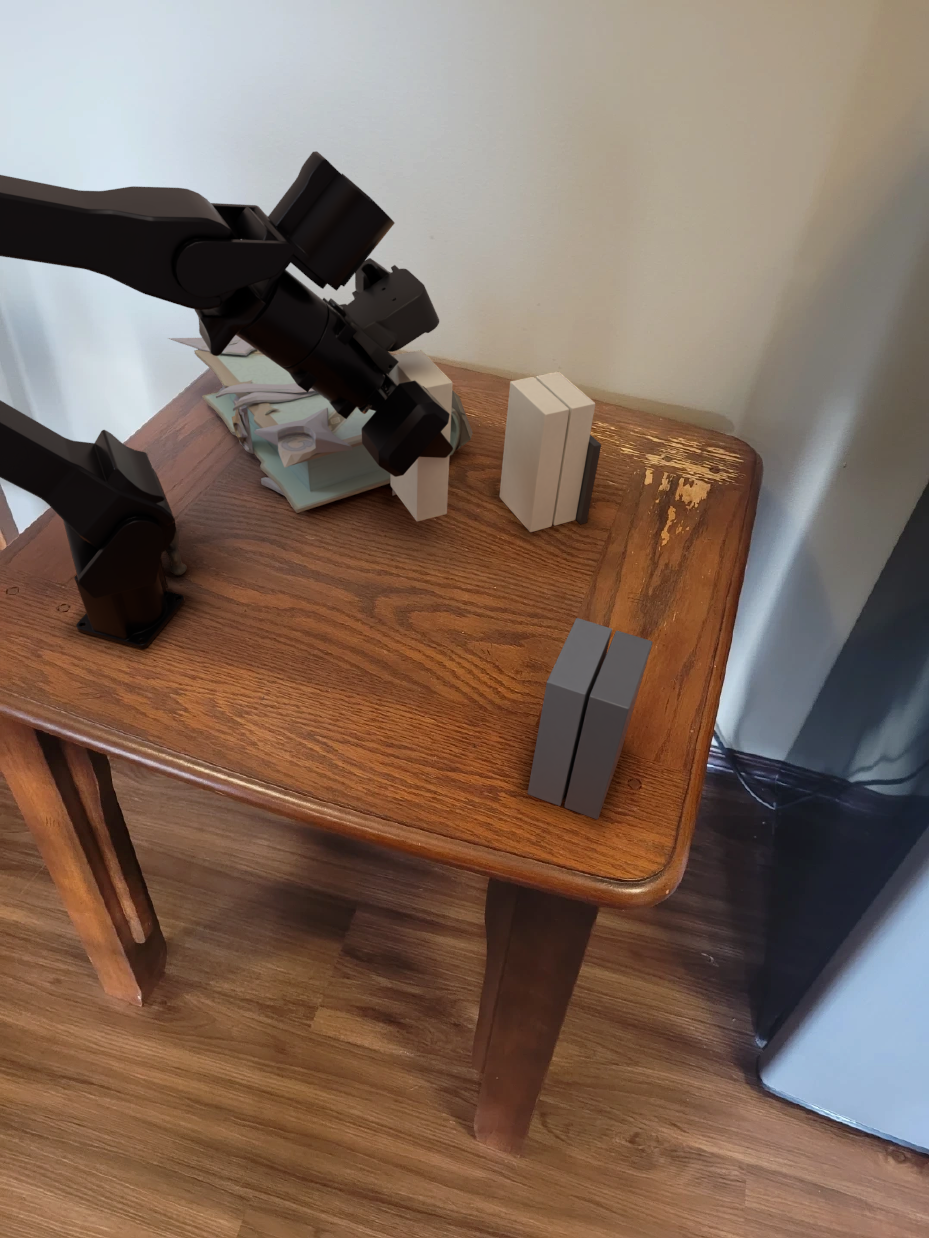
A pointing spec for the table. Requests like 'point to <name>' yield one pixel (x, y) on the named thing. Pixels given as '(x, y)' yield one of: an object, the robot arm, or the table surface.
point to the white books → (548, 452)
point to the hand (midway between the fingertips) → (433, 434)
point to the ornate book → (297, 428)
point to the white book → (427, 475)
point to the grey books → (586, 716)
